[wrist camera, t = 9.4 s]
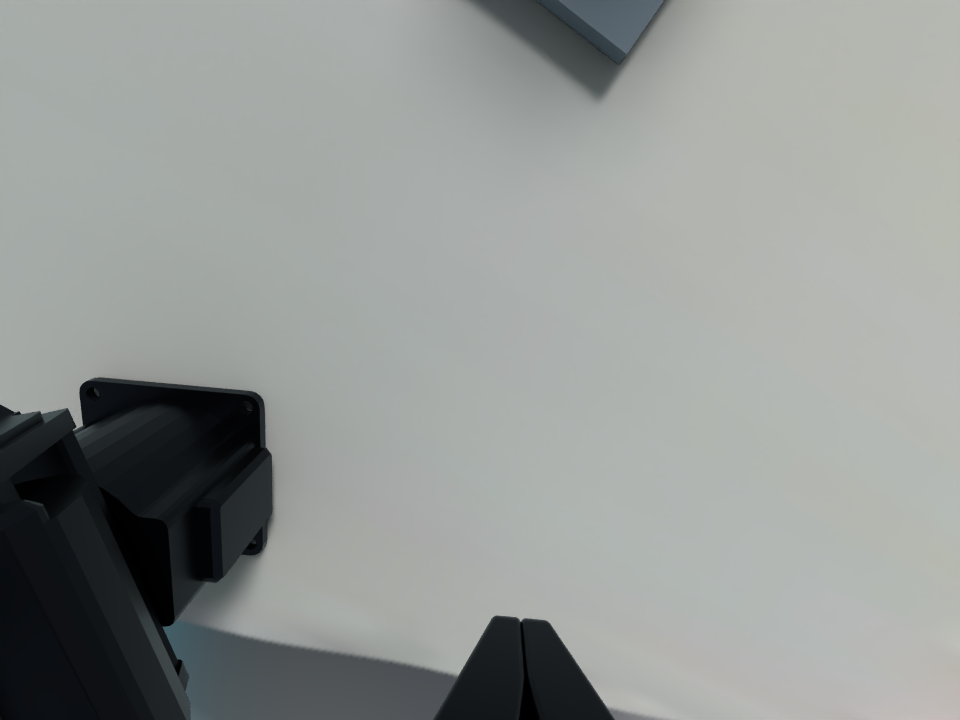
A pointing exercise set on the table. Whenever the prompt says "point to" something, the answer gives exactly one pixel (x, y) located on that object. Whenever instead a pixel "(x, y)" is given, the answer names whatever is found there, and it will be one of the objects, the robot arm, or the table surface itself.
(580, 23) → the fader track base
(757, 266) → the table surface
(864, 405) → the table surface
